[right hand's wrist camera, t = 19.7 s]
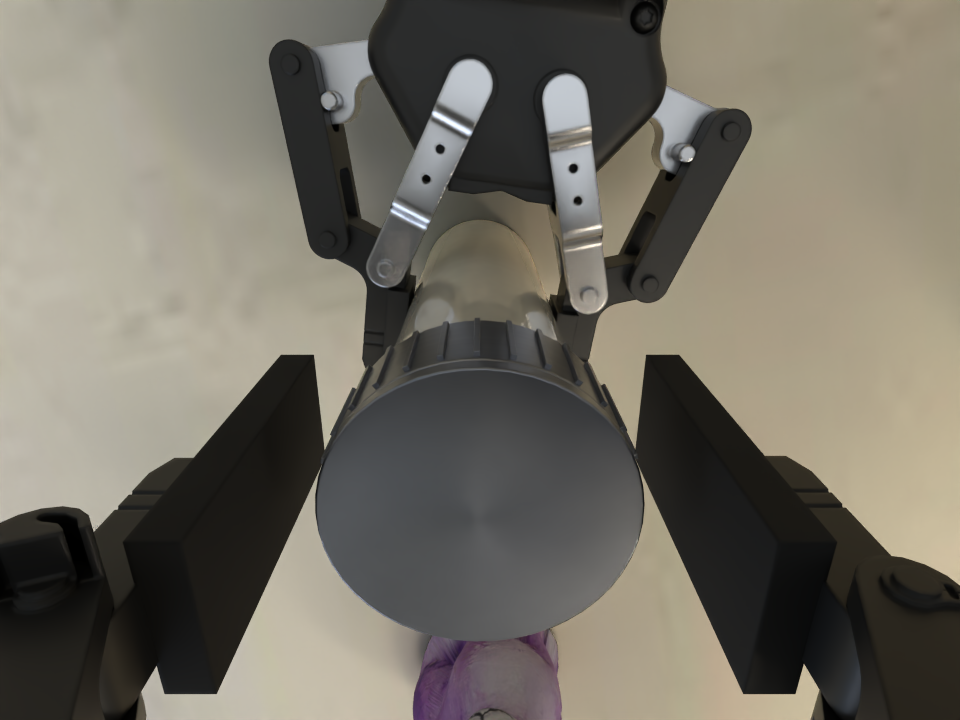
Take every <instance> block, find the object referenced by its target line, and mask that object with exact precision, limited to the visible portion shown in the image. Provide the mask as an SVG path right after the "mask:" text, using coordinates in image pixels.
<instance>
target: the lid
mask: <svg viewBox="0 0 960 720" xmlns="http://www.w3.org/2000/svg"><path fill="white" fill-rule="evenodd" d="M330 435H332V436H331V438H330V441H329V443H328V445H327V447H326V449H325V451H324V453H323V455H322V458H321V461H320V463H321V464H322V467H321V470H320V473H319V476H318V482H317V488H316V494H315V513H316V519H317V526H318V531H319V534H320V538H321V541H322V544H323V547H324V549H325V552H326V554H327V556H328V558H329V560H330V562H331V564H332V565H333V567H334V568H335V570H336V571H337V573H338V574H339V576H340V577H341V579H342V580H343V581H344V582H345V583H346V584H347V586H348V587H349V588H350V589H351V590H352V591H353V592H354V593H355V594H356V595H357V596H358V597H359V598H361V599H362V600H363V601H364V602H365V603H366V604H367V605H369V606H370V607H372V608H373V609H375V610H376V611H378V612H379V613H380V614H382V615H383V616H385V617H387V618H389V619H391V620H393V621H395V622H397V623H398V624H400V625H403V626H406V627H408V628H411V629H413V630H416V631H418V632H422V633H425V634H429V635H432V636H436V637H441V638H447V639H453V640H462V641H498V640H506V639H514V638H518V637H523V636H527V635H532V634H535V633H538V632H541V631H544V630H547V629H550V628H552V627H554V626H556V625H559V624H561V623H563V622H565V621H567V620H569V619H571V618H572V617H574V616H576V615H577V614H579V613H581V612H583V611H584V610H585V609H587V608H588V607H589V606H591V605H592V604H593V603H595V602H596V601H597V600H598V599H599V598H600V597H601V596H602V595H604V594H605V593H606V592H607V591H608V590H609V589H610V588H611V587H612V585H613V584H614V583H615V582H616V580H617V579H618V578H619V577H620V575H621V574H622V573H623V571H624V569H625V568H626V566H627V564H628V563H629V561H630V559H631V558H632V555H633V553H634V550H635V548H636V545H637V543H638V540H639V536H640V532H641V528H642V524H643V516H644V491H643V484H642V479H641V475H640V471H639V467H638V465H637V462H636V459H638V455H637V452H636V450H635V448H634V446H633V444H632V442H631V440H630V437H629V435H628V433H627V429H626V426H625V424H624V422H623V420H622V418H621V416H620V414H619V412H618V410H617V407H616V405H615V403H614V401H613V399H612V397H611V395H610V393H609V391H608V388H607V387H606V385H605V384H603V385H600V383H599V381H598V380H597V378H596V375H595V373H594V371H593V369H592V366H591V364H590V363H589V362H588V361H587V362H586V363H584V362H583V361H582V360H580V359H579V358H578V357H577V356H576V355H575V354H574V353H573V352H572V351H571V350H570V347H569V345H568V344H566V343H564V344H563V345H562V344H560V343H559V342H557V341H556V340H554V339H552V338H550V337H548V336H546V335H544V334H543V332H542V330H540V329H538V328H537V329H536V331H534V330H532V329H529V328H526V327H523V326H519V325H515V324H512V321H510V320H506V322H497V321H487V320H480V318H474V321H462V322H455V323H449V322H448V321H445V322H443V324H442V325H441V326H437V327H434V328H430V329H427V330H425V331H423V332H420V333H419V331H418V330H417V331H415V332H413V334H412V336H411V337H409V338H408V339H406V340H404V341H403V342H401V343H399V344H398V345H396V346H395V347H392V345H390V346H389V347H388V348H387V350H386V352H385V354H384V355H383V356H382V357H381V358H380V359H379V360H378V361H377V362H376V363H375V364H374V365H373V366H370V365H368V366H367V367H366V369H365V371H364V374H363V376H362V378H361V380H360V382H359V384H358V387H357V389H355V388H352V390H351V392H350V394H349V396H348V398H347V400H346V402H345V404H344V406H343V408H342V410H341V413H340V415H339V417H338V419H337V421H336V423H335V425H334V427H333V429H332V431H331V434H330Z"/></svg>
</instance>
